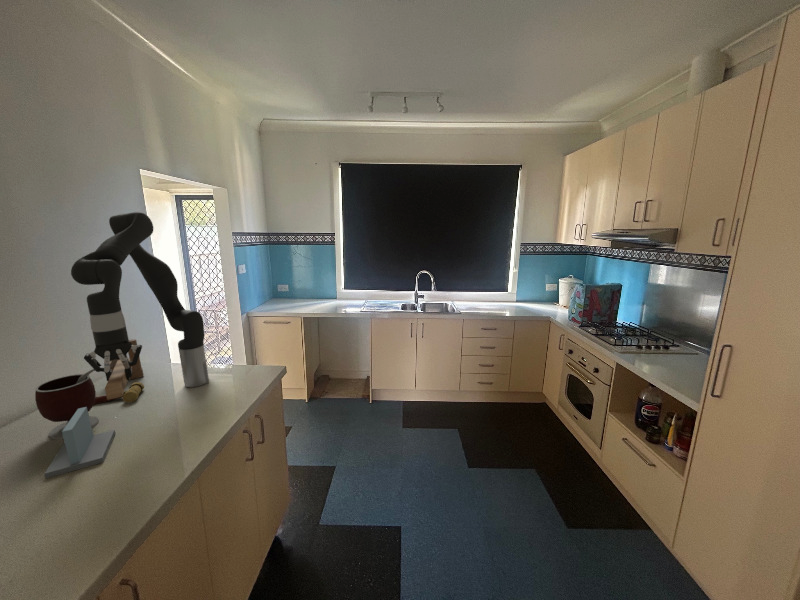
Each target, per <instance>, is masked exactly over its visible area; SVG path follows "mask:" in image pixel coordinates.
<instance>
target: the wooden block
mask: <svg viewBox="0 0 800 600" xmlns="http://www.w3.org/2000/svg"><path fill="white" fill-rule="evenodd" d="M129 342H130V343H131V344H132V345H137V346H138V343H137V339H135V338H134V339H133V338H132V339H129ZM127 355H128V358H130V360H131V361H132V360H133V358H134V355H135V353H134V352H133V349H130V350H129V352H128V353H127ZM118 360H120V359H115V360H112V361H111V370H112V371H113V370H114V367H115V365H116V363H117V361H118ZM131 370H132V377H130V379H131V380H135V379H139V378H143V377H144V370H143V367H142V363H141V358H140V356H139V358H138V361H137V364H136V365H133V366H132V369H131Z"/></svg>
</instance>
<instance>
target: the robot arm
mask: <svg viewBox="0 0 800 600" xmlns="http://www.w3.org/2000/svg"><path fill="white" fill-rule="evenodd" d="M108 223H109V224H108V225H109V227H110V229H111V231H112V233H113V234H114V235H112V236H110V237H109V238H107V239H105V240H104V241H103V242H102V243H101V244H100V245H99V246H98V247H97V248H96V250H95V251H93V252H89V253H87V254H85V255H84V256H82V257H80V258H78V259H77V260H76V261H75V262H74V263H73V265H72V266H71V269H70V275H71V277H72V279H73V280H74V281H75V282H76V283H78V284H80V285H84V286H85V285H86V286H92V285H104V286H103V289H102V291H101V290H100V291H97V292H94V293H90V294H88V295H87V297H86V304H87V308H88V313H89V322H90V330H91V332H92V337H93V340H94V345H95V349H94V350H93V351H91V352H88V353H86V354H85V355H84V356H83V359H84V360H85V361H86V363H88V365H90V367H91V368H92V369H94V370H95V371H94V372H97V373H100V372H102V373H104V374H105V377H106V378H105V379H106V381H107V382H108V380H109V378H110V376H111V374H112V372H113V371H112V370H111V361H112V360H115V359H120V360H121V362H122V363H123V365H124V367H125V369H124V371H125V374H126V379H127V380H128V381H129V380H130V377H132V369H131V366H133V365H136V364H137V361H138V358H139V357H140V354H141V351H142V348H143V344H137V345H132V344H131V343H130V342H129V340H130V339H129V335H128V331H127V325H126V321H125V316H124V314H123V311H122V305H121V301H120V288H121V282H122V277H123V270H122V268H121V266H122V265H123V263H124V262H125V261H126V259H127V258H128V256H130V257H131V259H132V261H133V262H134V264H135V265H136V267H137V269H138V270H139V272H140V273H141V275H142V277H143V279H144V280H145V282H146V284H147V285H148V288H150V290H151V291H152V293H153V295H154V296H155V298H156V300H157V302H158V303H159V304H160V306H161V308H162V310H163V313H164V315H165V316H166V318H167V321H168V323H169V325H170V327H171V328H172V329H173V330H175V331H177V332H182V333H183V339H181V340H179V341H178V342H177V347H178V353H179V360H180V366H181V372H182V377H183V383H184V387H185V388H196V387H201V386H203V385H206V384H209V383H210V380H209V379H210V376H209V370H208V364H207V359H206V353H205V346H204V344H205V343H204V340H205V327H204V320H203V316H202V314H201V313H200V312H199V311H195V310H188V309H185V307H184V306H183V305H182V303H181V301H180V299H179V297H178V289H179V288H178V280H177V278H176V276H175V274H174V272H173V271H172V269H171V267H170V266H169V265H168V264H167V263H166V262H164V261H163V260H162V259H159V257H157V256H154V255H153V254H151V253H150V252H149V251H147V250H146V249H144V247H143V246H142V245H141V243H143V242H144V241H146V239H148V238H149V237H150V236H152V235H153V233H154V224H153V222H152V219H151V218H150V217H149V216H148V215H147V214H146V213H145V212H142V211H131V212H126V213H122V214H121V213H119V214H116V215H112V216H110V218H109V219H108ZM130 349H133V352H134V353H135V355H134V358H133V360H132V361H130V362H129V360H128V358H129V356H128V352H129V350H130ZM97 356H98V357H100V358H101V359H103V361H104V363H103V365H102V364H101V363H100V362H99V361H98V360H97Z"/></svg>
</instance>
